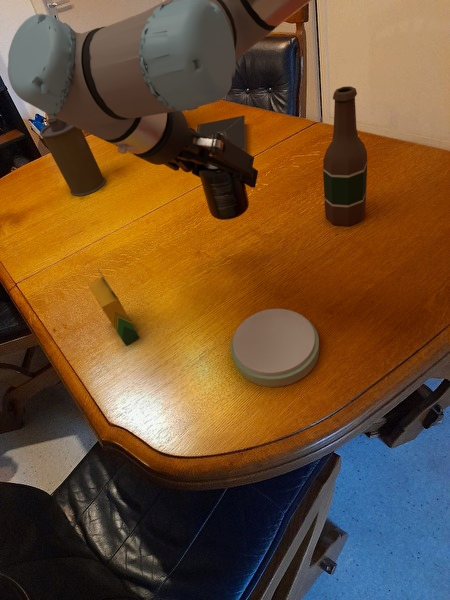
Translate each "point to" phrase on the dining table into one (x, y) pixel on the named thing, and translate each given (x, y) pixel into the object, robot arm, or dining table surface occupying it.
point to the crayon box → (114, 310)
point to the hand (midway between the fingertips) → (234, 177)
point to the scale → (275, 347)
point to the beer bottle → (345, 164)
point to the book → (227, 130)
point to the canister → (73, 157)
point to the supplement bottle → (223, 191)
